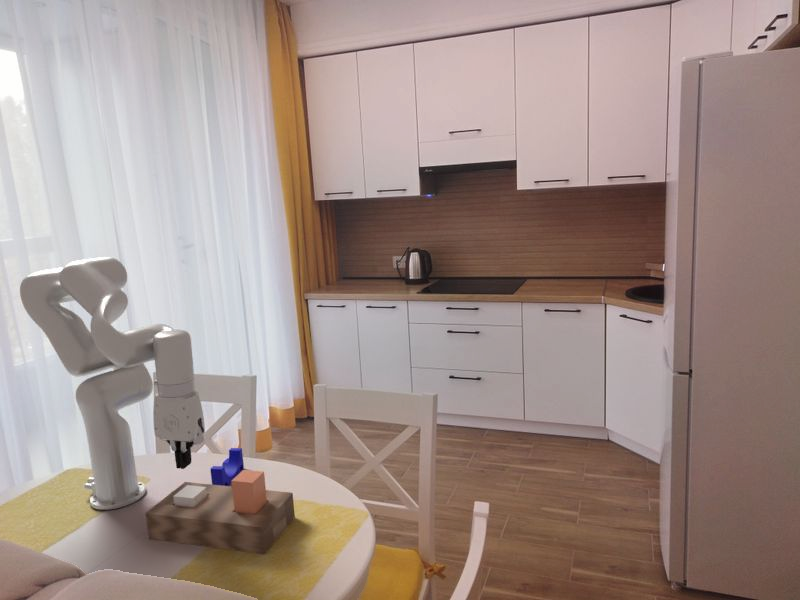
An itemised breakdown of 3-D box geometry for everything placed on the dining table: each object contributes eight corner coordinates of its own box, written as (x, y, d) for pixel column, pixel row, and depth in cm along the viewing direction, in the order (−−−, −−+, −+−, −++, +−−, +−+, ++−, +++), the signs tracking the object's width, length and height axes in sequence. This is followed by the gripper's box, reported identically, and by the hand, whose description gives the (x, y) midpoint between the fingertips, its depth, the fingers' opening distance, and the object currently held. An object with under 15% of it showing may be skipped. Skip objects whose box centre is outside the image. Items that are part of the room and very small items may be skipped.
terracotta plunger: (234, 513, 126) (231, 480, 125) (246, 501, 131) (243, 469, 129) (255, 515, 125) (252, 482, 123) (267, 503, 129) (264, 471, 128)
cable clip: (228, 468, 160) (226, 447, 159) (244, 469, 159) (241, 448, 158) (207, 490, 148) (204, 468, 147) (224, 491, 147) (221, 469, 146)
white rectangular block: (177, 527, 131) (173, 496, 130) (190, 515, 136) (187, 485, 134) (196, 529, 130) (193, 498, 128) (209, 517, 134) (206, 487, 133)
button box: (148, 538, 128) (145, 513, 127) (188, 505, 141) (185, 481, 140) (264, 554, 120) (262, 527, 119) (294, 517, 134) (292, 492, 132)
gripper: (135, 390, 125) (144, 469, 129) (196, 396, 121) (203, 478, 125) (158, 379, 132) (166, 454, 136) (216, 384, 129) (223, 462, 132)
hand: (184, 465), depth 131 cm, fingers closed
